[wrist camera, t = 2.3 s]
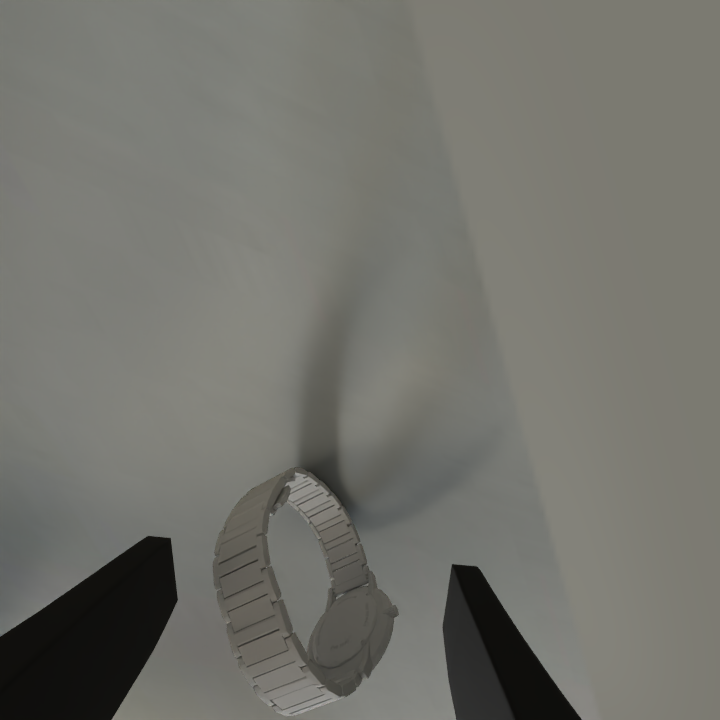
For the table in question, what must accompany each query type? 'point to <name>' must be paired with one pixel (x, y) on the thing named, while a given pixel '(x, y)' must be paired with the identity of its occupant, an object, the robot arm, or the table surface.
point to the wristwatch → (270, 618)
